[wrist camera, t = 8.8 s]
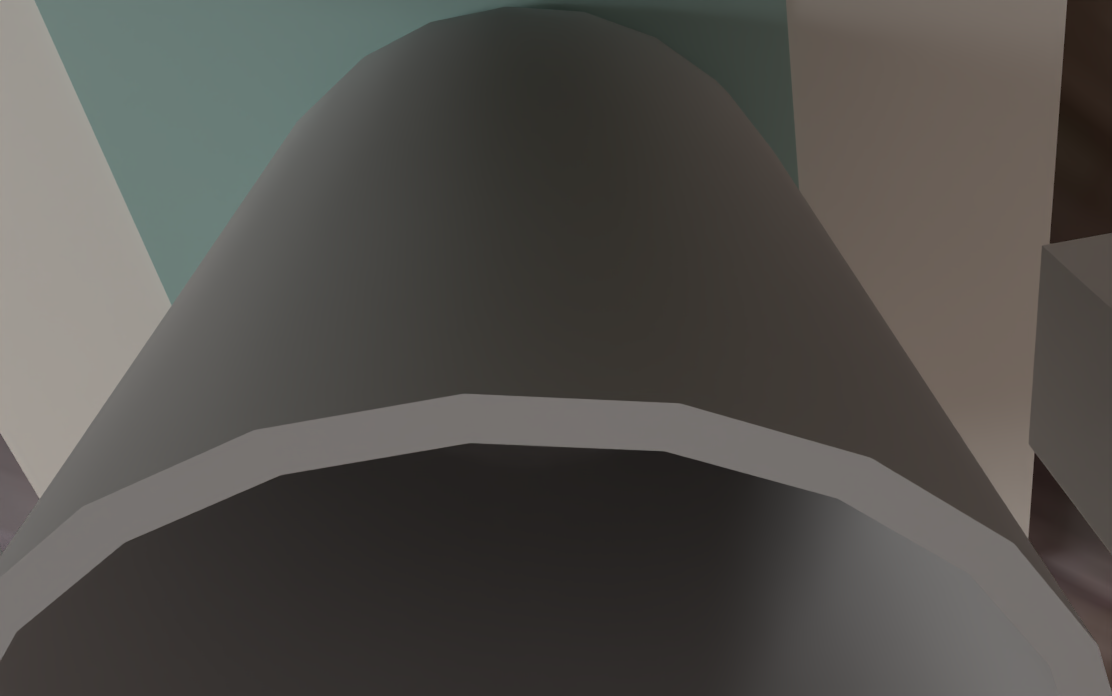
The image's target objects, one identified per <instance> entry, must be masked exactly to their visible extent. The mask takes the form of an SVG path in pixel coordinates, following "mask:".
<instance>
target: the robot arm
mask: <svg viewBox="0 0 1112 696" xmlns="http://www.w3.org/2000/svg"><path fill="white" fill-rule="evenodd" d="M1028 444H1029V445H1030V447H1031V448H1032V449H1033V451H1034V452H1035V453H1036V455H1037V456H1038V457H1039V459H1040V460H1041V461H1042V463H1043V464H1044V465H1045V467H1046V468H1047V469H1048V471H1049V472H1050V473H1051V475H1052V476H1053V477H1054V479H1055V480H1056V481H1057V483H1058V484H1059V485H1060V487H1061V488H1062V489H1063V491H1064V492H1065V493H1066V495H1067V496H1068V497H1069V499H1070V500H1071V501H1072V503H1073V504H1074V505H1075V507H1076V508H1077V509H1078V511H1079V512H1080V513H1081V515H1082V516H1083V517H1084V519H1085V520H1086V521H1087V523H1088V524H1089V525H1090V527H1091V528H1092V529H1093V531H1094V532H1095V533H1096V535H1097V536H1098V537H1099V539H1100V540H1101V541H1102V543H1103V544H1104V545H1105V547H1106V548H1107V549H1108V551H1109V552H1110V553H1111V555H1112V233H1108V234H1103V235H1097V236H1092V237H1086V238H1081V239H1075V240H1070V241H1064V242H1058V243H1053V244H1047V245H1042V251H1041V266H1040V280H1039V295H1038V310H1037V324H1036V339H1035V354H1034V369H1033V383H1032V398H1031V413H1030V427H1029V442H1028ZM2 553H3V552H2V551H1V549H0V556H1V555H2Z"/></svg>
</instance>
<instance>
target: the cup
mask: <svg viewBox="0 0 1112 696" xmlns="http://www.w3.org/2000/svg"><path fill="white" fill-rule="evenodd" d="M0 696H1112V692H1111V689H1110V685H1109V682H1108V678H1107V675H1106V671H1105V668H1104V664H1103V661H1102V657H1101V654H1100V650H1099V647H1098V645H1097V643H1096V642H1095V640H1094V639H1093V637H1092V635H1091V634H1090V632H1089V631H1088V629H1087V628H1086V626H1085V625H1084V623H1083V622H1082V620H1081V619H1080V617H1079V616H1078V614H1077V613H1076V611H1075V610H1074V608H1073V607H1072V605H1071V603H1070V602H1069V600H1068V599H1067V597H1066V596H1065V594H1064V593H1063V591H1062V590H1061V588H1060V587H1059V585H1058V584H1057V582H1056V581H1055V579H1054V578H1053V576H1052V575H1051V573H1050V571H1049V570H1048V568H1047V567H1046V565H1045V564H1044V562H1043V561H1042V559H1041V558H1040V556H1039V555H1038V553H1037V552H1036V550H1035V549H1034V547H1033V546H1032V544H1031V543H1030V541H1029V540H1028V538H1027V536H1026V535H1025V533H1024V532H1023V530H1022V529H1021V527H1020V526H1019V524H1018V523H1017V521H1016V520H1015V518H1014V517H1013V515H1012V514H1011V512H1010V511H1009V509H1008V508H1007V506H1006V504H1005V503H1004V501H1003V500H1002V498H1001V497H1000V495H999V494H998V492H997V491H996V489H995V488H994V486H993V485H992V483H991V482H990V480H989V479H988V477H987V476H986V474H985V472H984V471H983V469H982V468H981V466H980V465H979V463H978V462H977V460H976V459H975V457H974V456H973V454H972V453H971V451H970V450H969V448H968V447H967V445H966V444H965V442H964V440H963V439H962V437H961V436H960V434H959V433H958V431H957V430H956V428H955V427H954V425H953V424H952V422H951V421H950V419H949V418H948V416H947V415H946V413H945V412H944V410H943V408H942V407H941V405H940V404H939V402H938V401H937V399H936V398H935V396H934V395H933V393H932V392H931V390H930V389H929V387H928V386H927V384H926V383H925V381H924V380H923V378H922V377H921V375H920V373H919V372H918V370H917V369H916V367H915V366H914V364H913V363H912V361H911V360H910V358H909V357H908V355H907V354H906V352H905V351H904V349H903V348H902V346H901V345H900V343H899V341H898V340H897V338H896V337H895V335H894V334H893V332H892V331H891V329H890V328H889V326H888V325H887V323H886V322H885V320H884V319H883V317H882V316H881V314H880V313H879V311H878V309H877V308H876V306H875V305H874V303H873V302H872V300H871V299H870V297H869V296H868V294H867V293H866V291H865V290H864V288H863V287H862V285H861V284H860V282H859V281H858V279H857V277H856V276H855V274H854V273H853V271H852V270H851V268H850V267H849V265H848V264H847V262H846V261H845V259H844V258H843V256H842V255H841V253H840V252H839V250H838V249H837V247H836V245H835V244H834V242H833V241H832V239H831V238H830V236H829V235H828V233H827V232H826V230H825V229H824V227H823V226H822V224H821V223H820V221H819V220H818V218H817V217H816V215H815V214H814V212H813V210H812V209H811V207H810V206H809V204H808V203H807V201H806V200H805V198H804V197H803V195H802V194H801V192H800V191H799V189H798V188H797V186H796V185H795V183H794V182H793V180H792V178H791V177H790V175H789V174H788V172H787V171H786V169H785V168H784V166H783V165H782V163H781V162H780V160H779V159H778V157H777V156H776V154H775V153H774V151H773V150H772V149H771V147H770V146H769V145H768V143H767V142H766V141H765V140H764V138H763V137H762V136H761V134H760V133H759V132H758V130H757V129H756V128H755V127H754V125H753V124H752V123H751V121H750V120H749V119H748V118H747V116H746V115H745V114H744V112H743V111H742V110H741V109H740V107H739V106H738V105H737V103H736V102H735V101H734V100H733V98H732V97H731V96H730V94H729V93H728V92H727V91H726V90H725V89H724V88H723V87H722V86H721V85H720V84H719V83H718V82H717V81H716V80H715V79H713V78H712V77H711V76H709V75H708V74H706V73H705V72H704V71H702V70H701V69H699V68H698V67H696V66H695V65H694V64H692V63H691V62H689V61H688V60H687V59H685V58H684V57H682V56H681V55H680V54H678V53H677V52H675V51H674V50H673V49H671V48H670V47H668V46H667V45H666V44H664V43H663V42H661V41H660V40H659V39H657V38H656V37H653V36H650V35H647V34H645V33H642V32H639V31H636V30H633V29H631V28H628V27H625V26H622V25H619V24H617V23H614V22H611V21H608V20H606V19H603V18H600V17H597V16H594V15H592V14H589V13H586V12H580V11H566V10H551V9H536V8H521V7H502V8H497V9H492V10H487V11H482V12H477V13H472V14H467V15H462V16H457V17H452V18H448V19H443V20H438V21H433V22H429V23H428V24H426V25H424V26H422V27H420V28H418V29H416V30H414V31H412V32H410V33H409V34H407V35H405V36H403V37H401V38H399V39H397V40H395V41H393V42H391V43H390V44H388V45H386V46H384V47H382V48H380V49H378V50H376V51H374V52H372V53H370V54H369V55H367V56H365V57H363V58H362V59H361V60H360V61H359V62H358V63H357V64H356V65H355V66H354V67H353V68H352V69H351V70H350V71H349V72H348V73H347V74H346V75H345V76H344V77H343V78H342V79H340V80H339V81H338V82H337V83H336V84H335V85H334V86H333V87H332V88H331V89H330V90H329V91H328V92H327V93H326V94H325V95H324V96H323V97H322V98H321V99H320V100H319V101H318V102H317V103H315V104H314V105H313V106H312V107H311V108H310V109H309V110H308V111H307V112H306V113H305V114H304V115H303V116H302V117H301V118H300V119H299V120H298V121H297V122H296V124H295V125H294V127H293V128H292V130H291V131H290V133H289V134H288V136H287V137H286V139H285V140H284V141H283V143H282V144H281V146H280V147H279V149H278V150H277V152H276V153H275V155H274V156H273V158H272V159H271V161H270V162H269V163H268V165H267V166H266V168H265V169H264V171H263V172H262V174H261V175H260V177H259V178H258V180H257V181H256V183H255V184H254V185H253V187H252V188H251V190H250V191H249V193H248V194H247V196H246V197H245V199H244V200H243V202H242V203H241V205H240V206H239V207H238V209H237V210H236V212H235V213H234V215H233V216H232V218H231V219H230V221H229V222H228V224H227V225H226V227H225V228H224V229H223V231H222V232H221V234H220V235H219V237H218V238H217V240H216V241H215V243H214V244H213V246H212V247H211V249H210V250H209V251H208V253H207V254H206V256H205V257H204V259H203V260H202V262H201V263H200V265H199V266H198V268H197V269H196V271H195V272H194V273H193V275H192V276H191V278H190V279H189V281H188V282H187V284H186V285H185V287H184V288H183V290H182V291H181V292H180V294H179V295H178V297H177V298H176V300H175V301H174V303H173V304H172V306H171V307H170V309H169V310H168V312H167V313H166V314H165V316H164V317H163V319H162V320H161V322H160V323H159V325H158V326H157V328H156V329H155V331H154V332H153V334H152V335H151V336H150V338H149V339H148V341H147V342H146V344H145V345H144V347H143V348H142V350H141V351H140V353H139V354H138V356H137V357H136V358H135V360H134V361H133V363H132V364H131V366H130V367H129V369H128V370H127V372H126V373H125V375H124V376H123V378H122V379H121V380H120V382H119V383H118V385H117V386H116V388H115V389H114V391H113V392H112V394H111V395H110V397H109V398H108V400H107V401H106V402H105V404H104V405H103V407H102V408H101V410H100V411H99V413H98V414H97V416H96V417H95V419H94V420H93V421H92V423H91V424H90V426H89V427H88V429H87V430H86V432H85V433H84V435H83V436H82V438H81V439H80V441H79V442H78V443H77V445H76V446H75V448H74V449H73V451H72V452H71V454H70V455H69V457H68V458H67V460H66V461H65V463H64V464H63V465H62V467H61V468H60V470H59V471H58V473H57V474H56V476H55V477H54V479H53V480H52V482H51V483H50V485H49V486H48V487H47V489H46V490H45V492H44V493H43V495H42V496H41V498H40V499H39V501H38V502H37V504H36V505H35V507H34V508H33V509H32V511H31V512H30V514H29V515H28V517H27V518H26V520H25V521H24V523H23V524H22V526H21V527H20V529H19V530H18V531H17V533H16V534H15V536H14V537H13V539H12V540H11V542H10V543H9V545H8V546H7V548H6V549H5V550H4V552H3V553H2V555H1V556H0Z"/></svg>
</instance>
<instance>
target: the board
mask: <svg viewBox="0 0 1112 696" xmlns="http://www.w3.org/2000/svg"><path fill="white" fill-rule="evenodd" d="M502 7H521V8H536V9H551V10H566V11H580V12H586V13H589V14H592V15H594V16H597V17H600V18H603V19H606V20H608V21H611V22H614V23H617V24H619V25H622V26H625V27H628V28H631V29H633V30H636V31H639V32H642V33H645V34H647V35H650V36H653V37H656V38H657V39H659V40H660V41H661V42H663V43H664V44H666V45H667V46H668V47H670V48H671V49H673V50H674V51H675V52H677V53H678V54H680V55H681V56H682V57H684V58H685V59H687V60H688V61H689V62H691V63H692V64H694V65H695V66H696V67H698V68H699V69H701V70H702V71H704V72H705V73H706V74H708V75H709V76H711V77H712V78H713V79H715V80H716V81H717V82H718V83H719V84H720V85H721V86H722V87H723V88H724V89H725V90H726V91H727V92H728V93H729V94H730V96H731V97H732V98H733V100H734V101H735V102H736V103H737V105H738V106H739V107H740V109H741V110H742V111H743V112H744V114H745V115H746V116H747V118H748V119H749V120H750V121H751V123H752V124H753V125H754V127H755V128H756V129H757V130H758V132H759V133H760V134H761V136H762V137H763V138H764V140H765V141H766V142H767V143H768V145H769V146H770V147H771V149H772V150H773V151H774V153H775V154H776V156H777V157H778V159H779V160H780V162H781V163H782V165H783V166H784V168H785V169H786V171H787V172H788V174H789V175H790V177H791V178H792V180H793V182H794V183H795V185H796V186H797V188H798V189H799V191H800V192H801V194H802V195H803V197H804V198H805V200H806V201H807V203H808V204H809V206H810V207H811V209H812V210H813V212H814V214H815V215H816V217H817V218H818V220H819V221H820V223H821V224H822V226H823V227H824V229H825V230H826V232H827V233H828V235H829V236H830V238H831V239H832V241H833V242H834V244H835V245H836V247H837V249H838V250H839V252H840V253H841V255H842V256H843V258H844V259H845V261H846V262H847V264H848V265H849V267H850V268H851V270H852V271H853V273H854V274H855V276H856V277H857V279H858V281H859V282H860V284H861V285H862V287H863V288H864V290H865V291H866V293H867V294H868V296H869V297H870V299H871V300H872V302H873V303H874V305H875V306H876V308H877V309H878V311H879V313H880V314H881V316H882V317H883V319H884V320H885V322H886V323H887V325H888V326H889V328H890V329H891V331H892V332H893V334H894V335H895V337H896V338H897V340H898V341H899V343H900V345H901V346H902V348H903V349H904V351H905V352H906V354H907V355H908V357H909V358H910V360H911V361H912V363H913V364H914V366H915V367H916V369H917V370H918V372H919V373H920V375H921V377H922V378H923V380H924V381H925V383H926V384H927V386H928V387H929V389H930V390H931V392H932V393H933V395H934V396H935V398H936V399H937V401H938V402H939V404H940V405H941V407H942V408H943V410H944V412H945V413H946V415H947V416H948V418H949V419H950V421H951V422H952V424H953V425H954V427H955V428H956V430H957V431H958V433H959V434H960V436H961V437H962V439H963V440H964V442H965V444H966V445H967V447H968V448H969V450H970V451H971V453H972V454H973V456H974V457H975V459H976V460H977V462H978V463H979V465H980V466H981V468H982V469H983V471H984V472H985V474H986V476H987V477H988V479H989V480H990V482H991V483H992V485H993V486H994V488H995V489H996V491H997V492H998V494H999V495H1000V497H1001V498H1002V500H1003V501H1004V503H1005V504H1006V506H1007V508H1008V509H1009V511H1010V512H1011V514H1012V515H1013V517H1014V518H1015V520H1016V521H1017V523H1018V524H1019V526H1020V527H1021V529H1022V530H1023V532H1024V533H1025V535H1026V536H1027V538H1028V536H1029V522H1030V508H1031V494H1032V480H1033V466H1034V453H1035V452H1034V451H1033V449H1032V448H1031V447H1030V445H1029V444H1028V442H1029V427H1030V413H1031V398H1032V383H1033V369H1034V354H1035V339H1036V324H1037V310H1038V295H1039V280H1040V266H1041V251H1042V245H1047V244H1050V231H1051V217H1052V203H1053V190H1054V176H1055V162H1056V148H1057V134H1058V120H1059V106H1060V93H1061V79H1062V65H1063V51H1064V37H1065V23H1066V10H1067V0H0V433H1V435H2V436H3V438H4V440H5V441H6V443H7V445H8V446H9V448H10V450H11V452H12V453H13V455H14V457H15V458H16V460H17V462H18V463H19V465H20V467H21V468H22V470H23V472H24V473H25V475H26V477H27V478H28V480H29V482H30V483H31V485H32V487H33V488H34V490H35V492H36V493H37V495H38V497H39V498H41V496H42V495H43V493H44V492H45V490H46V489H47V487H48V486H49V485H50V483H51V482H52V480H53V479H54V477H55V476H56V474H57V473H58V471H59V470H60V468H61V467H62V465H63V464H64V463H65V461H66V460H67V458H68V457H69V455H70V454H71V452H72V451H73V449H74V448H75V446H76V445H77V443H78V442H79V441H80V439H81V438H82V436H83V435H84V433H85V432H86V430H87V429H88V427H89V426H90V424H91V423H92V421H93V420H94V419H95V417H96V416H97V414H98V413H99V411H100V410H101V408H102V407H103V405H104V404H105V402H106V401H107V400H108V398H109V397H110V395H111V394H112V392H113V391H114V389H115V388H116V386H117V385H118V383H119V382H120V380H121V379H122V378H123V376H124V375H125V373H126V372H127V370H128V369H129V367H130V366H131V364H132V363H133V361H134V360H135V358H136V357H137V356H138V354H139V353H140V351H141V350H142V348H143V347H144V345H145V344H146V342H147V341H148V339H149V338H150V336H151V335H152V334H153V332H154V331H155V329H156V328H157V326H158V325H159V323H160V322H161V320H162V319H163V317H164V316H165V314H166V313H167V312H168V310H169V309H170V307H171V306H172V304H173V303H174V301H175V300H176V298H177V297H178V295H179V294H180V292H181V291H182V290H183V288H184V287H185V285H186V284H187V282H188V281H189V279H190V278H191V276H192V275H193V273H194V272H195V271H196V269H197V268H198V266H199V265H200V263H201V262H202V260H203V259H204V257H205V256H206V254H207V253H208V251H209V250H210V249H211V247H212V246H213V244H214V243H215V241H216V240H217V238H218V237H219V235H220V234H221V232H222V231H223V229H224V228H225V227H226V225H227V224H228V222H229V221H230V219H231V218H232V216H233V215H234V213H235V212H236V210H237V209H238V207H239V206H240V205H241V203H242V202H243V200H244V199H245V197H246V196H247V194H248V193H249V191H250V190H251V188H252V187H253V185H254V184H255V183H256V181H257V180H258V178H259V177H260V175H261V174H262V172H263V171H264V169H265V168H266V166H267V165H268V163H269V162H270V161H271V159H272V158H273V156H274V155H275V153H276V152H277V150H278V149H279V147H280V146H281V144H282V143H283V141H284V140H285V139H286V137H287V136H288V134H289V133H290V131H291V130H292V128H293V127H294V125H295V124H296V122H297V121H298V120H299V119H300V118H301V117H302V116H303V115H304V114H305V113H306V112H307V111H308V110H309V109H310V108H311V107H312V106H313V105H314V104H315V103H317V102H318V101H319V100H320V99H321V98H322V97H323V96H324V95H325V94H326V93H327V92H328V91H329V90H330V89H331V88H332V87H333V86H334V85H335V84H336V83H337V82H338V81H339V80H340V79H342V78H343V77H344V76H345V75H346V74H347V73H348V72H349V71H350V70H351V69H352V68H353V67H354V66H355V65H356V64H357V63H358V62H359V61H360V60H361V59H362V58H363V57H365V56H367V55H369V54H370V53H372V52H374V51H376V50H378V49H380V48H382V47H384V46H386V45H388V44H390V43H391V42H393V41H395V40H397V39H399V38H401V37H403V36H405V35H407V34H409V33H410V32H412V31H414V30H416V29H418V28H420V27H422V26H424V25H426V24H428V23H429V22H433V21H438V20H443V19H448V18H452V17H457V16H462V15H467V14H472V13H477V12H482V11H487V10H492V9H497V8H502Z"/></svg>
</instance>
